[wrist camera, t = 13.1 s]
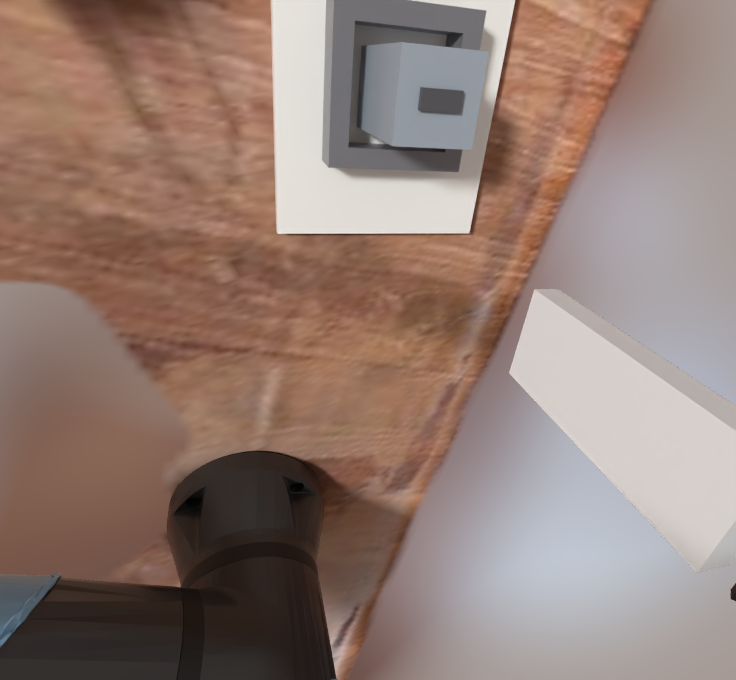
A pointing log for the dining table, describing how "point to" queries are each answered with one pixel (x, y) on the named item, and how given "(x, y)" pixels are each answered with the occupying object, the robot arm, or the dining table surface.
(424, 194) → the charging dock
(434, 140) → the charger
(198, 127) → the dining table surface
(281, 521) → the robot arm
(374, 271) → the dining table surface
